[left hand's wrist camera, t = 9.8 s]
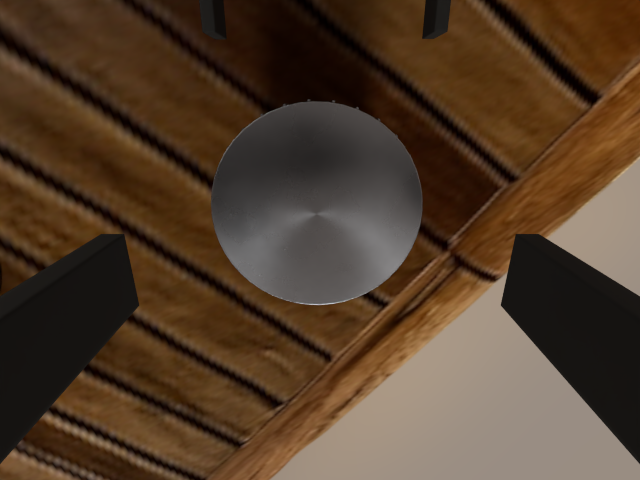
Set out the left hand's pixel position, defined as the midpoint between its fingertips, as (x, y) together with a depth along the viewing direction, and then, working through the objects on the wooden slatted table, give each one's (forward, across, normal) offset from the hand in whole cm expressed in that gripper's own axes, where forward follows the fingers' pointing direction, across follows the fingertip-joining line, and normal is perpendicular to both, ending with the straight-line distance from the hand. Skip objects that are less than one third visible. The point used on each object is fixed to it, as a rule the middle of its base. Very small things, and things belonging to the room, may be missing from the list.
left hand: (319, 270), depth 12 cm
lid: (+5, 0, 0) cm, 5 cm away
